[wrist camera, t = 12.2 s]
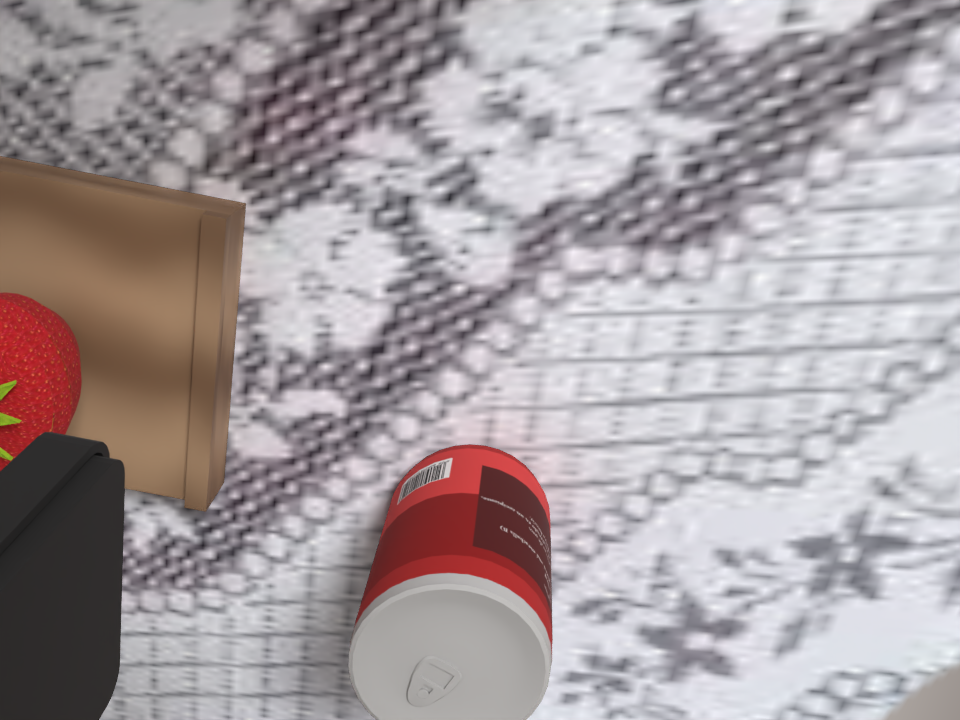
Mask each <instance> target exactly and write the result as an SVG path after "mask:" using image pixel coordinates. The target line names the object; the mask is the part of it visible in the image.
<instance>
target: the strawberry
mask: <svg viewBox="0 0 960 720" xmlns="http://www.w3.org/2000/svg"><path fill="white" fill-rule="evenodd" d="M81 385H82V379H81V362H80V351H79V347H78V343H77V340H76V338H75V335H74V333H73V332H72V330H71V328H70V327H69V325H68V324H67V323H66V322H65V320H64V319H63V318H62V317H60V316H59V315H58V314H57V313H56V312H54V311H52V310H51V309H49V308H47V307H45V306H44V305H42V304H40V303H39V302H37V301H35V300H33V299H32V298H29V297H26V296H23V295H20V294H17V293H6V292H3V293H0V471H1V470H2V469H3V468H4V467H5V466H7V465H8V464H9V463H10V462H11V461H12V460H13V459H14V458H15V457H16V456H17V455H18V454H20V453H21V452H22V451H23V450H24V449H25V448H26V447H27V446H28V445H29V444H30V443H31V442H32V441H34V440H35V439H36V438H37V437H38V436H39V435H41V434H43V433H44V432H54V433H59V434H64V435H65V434H66V432H67V429H68V427H69V425H70V423H71V420H72V418H73V416H74V413H75V411H76V409H77V405H78V402H79V399H80V394H81Z"/></svg>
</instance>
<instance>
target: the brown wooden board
mask: <svg viewBox="0 0 960 720" xmlns="http://www.w3.org/2000/svg"><path fill="white" fill-rule="evenodd" d="M245 208H246V203H241V202H236V201H231V200H225V199H220V198H215V197H210V196H205V195H199V194H194V193H189V192H184V191H179V190H174V189H168V188H163V187H158V186H153V185H148V184H142V183H137V182H132V181H127V180H122V179H117V178H111V177H106V176H101V175H96V174H91V173H85V172H80V171H75V170H70V169H65V168H59V167H54V166H49V165H44V164H39V163H34V162H28V161H23V160H18V159H13V158H8V157H2V156H0V293H3V292H6V293H17V294H20V295H23V296H26V297H29V298H32V299H33V300H35V301H37V302H39V303H40V304H42V305H44V306H45V307H47V308H49V309H51V310H52V311H54V312H56V313H57V314H58V315H59V316H60V317H62V318H63V319H64V320H65V322H66V323H67V324H68V325H69V327H70V328H71V330H72V332H73V333H74V335H75V338H76V340H77V343H78V347H79V351H80V362H81V379H82V385H81V394H80V399H79V402H78V405H77V409H76V411H75V413H74V416H73V418H72V420H71V423H70V425H69V427H68V429H67V432H66V434H65V435H69V436H75V437H80V438H85V439H91V440H96V441H101V442H104V443H105V444H106V445H107V447H108V450H109V453H110V458H113V459H118V460H121V461H122V462H123V464H124V468H125V489H131V490H136V491H141V492H147V493H152V494H157V495H162V496H168V497H173V498H178V499H184V500H185V506H184V507H185V508H190V509H195V510H200V511H206V510H207V509H208V507H209V506H210V504H211V502H212V501H213V499H214V498H215V496H216V494H217V493H218V491H219V490H220V488H221V486H222V485H223V483H224V476H225V463H226V450H227V437H228V425H229V412H230V399H231V386H232V374H233V361H234V348H235V335H236V323H237V310H238V297H239V284H240V272H241V259H242V246H243V233H244V221H245Z"/></svg>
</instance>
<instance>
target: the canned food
mask: <svg viewBox="0 0 960 720" xmlns="http://www.w3.org/2000/svg"><path fill="white" fill-rule="evenodd" d="M551 663H552V591H551V537H550V512H549V505H548V502H547V499H546V496H545V493H544V491H543V490H542V488H541V486H540V484H539V483H538V481H537V479H536V478H535V476H534V475H533V474H532V473H531V471H530V470H529V469H528V468H527V467H526V466H525V465H524V464H523V463H521V462H520V461H519V460H517V459H516V458H515V457H513V456H512V455H510V454H507V453H505V452H503V451H501V450H499V449H495V448H491V447H487V446H481V445H460V446H453V447H449V448H446V449H442V450H439V451H437V452H435V453H433V454H431V455H429V456H427V457H426V458H425V459H423V460H422V461H421V462H419V463H418V464H417V465H415V466H414V467H413V468H412V469H411V470H410V471H409V472H408V473H407V475H406V476H405V477H404V478H403V479H402V480H401V481H400V483H399V485H398V487H397V488H396V490H395V492H394V494H393V497H392V500H391V504H390V507H389V510H388V514H387V517H386V520H385V524H384V527H383V531H382V534H381V537H380V541H379V544H378V547H377V551H376V554H375V558H374V561H373V564H372V568H371V571H370V574H369V578H368V581H367V585H366V588H365V591H364V595H363V598H362V601H361V605H360V608H359V612H358V615H357V618H356V622H355V627H354V631H353V634H352V638H351V641H350V651H349V664H348V669H349V674H350V679H351V684H352V686H353V688H354V691H355V693H356V695H357V697H358V699H359V700H360V702H361V703H362V705H363V706H364V707H365V709H366V710H367V711H368V713H370V714H371V715H372V716H373V717H374V718H375V719H376V720H526V719H527V718H528V717H529V716H531V715H532V713H533V712H534V711H535V709H536V708H537V707H538V705H539V704H540V702H541V701H542V699H543V696H544V694H545V692H546V689H547V687H548V682H549V676H550V669H551Z"/></svg>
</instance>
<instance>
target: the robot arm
mask: <svg viewBox="0 0 960 720" xmlns="http://www.w3.org/2000/svg"><path fill="white" fill-rule="evenodd" d="M124 493H125V468H124V464H123V462H122V461H121V460H118V459H113V458H110V453H109V450H108V447H107V445H106V444H105V443H104V442H101V441H96V440H91V439H85V438H80V437H75V436H69V435H64V434H59V433H54V432H44V433H43V434H41V435H39V436H38V437H37V438H36V439H35V440H34V441H32V442H31V443H30V444H29V445H28V446H27V447H26V448H25V449H24V450H23V451H22V452H21V453H20V454H18V455H17V456H16V457H15V458H14V459H13V460H12V461H11V462H10V463H9V464H8V465H7V466H5V467H4V468H3V469H2V470H1V471H0V720H99V718H100V717H101V715H102V713H103V712H104V710H105V708H106V707H107V705H108V703H109V701H110V699H111V697H112V694H113V691H114V689H115V685H116V682H117V678H118V674H119V666H120V635H121V600H122V564H123V528H124Z"/></svg>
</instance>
